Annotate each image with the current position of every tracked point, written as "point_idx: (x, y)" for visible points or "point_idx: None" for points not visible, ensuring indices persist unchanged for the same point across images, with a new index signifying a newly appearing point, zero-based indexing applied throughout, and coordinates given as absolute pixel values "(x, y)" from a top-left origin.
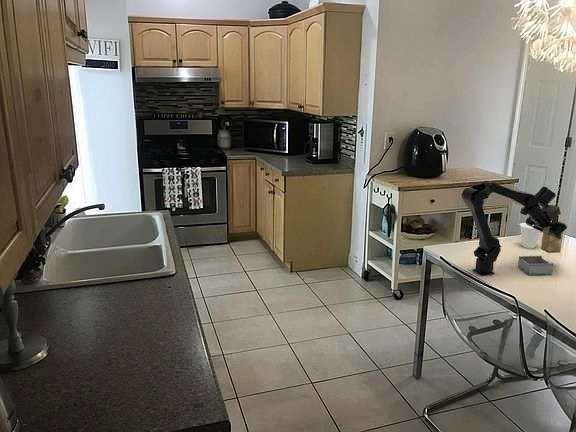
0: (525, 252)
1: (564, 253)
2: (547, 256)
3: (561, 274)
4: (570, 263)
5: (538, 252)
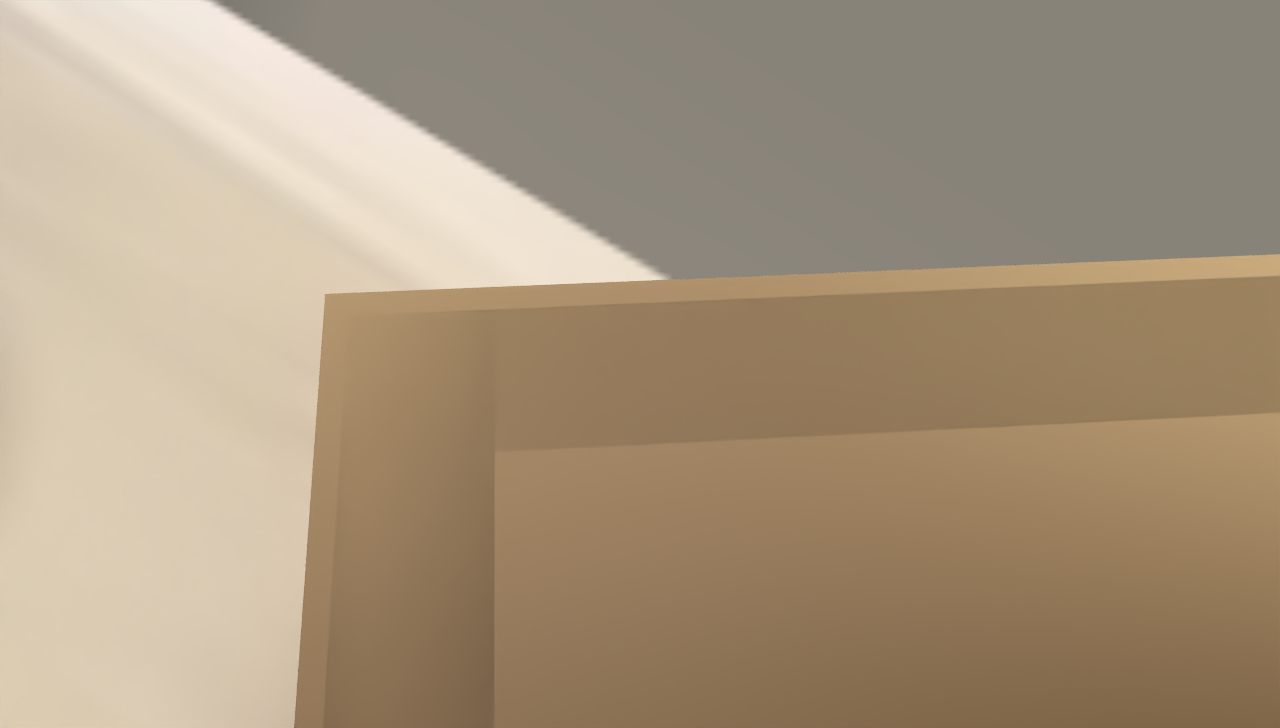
0: (34, 708)
1: (258, 127)
2: (314, 436)
3: None
4: (644, 280)
5: (107, 473)
